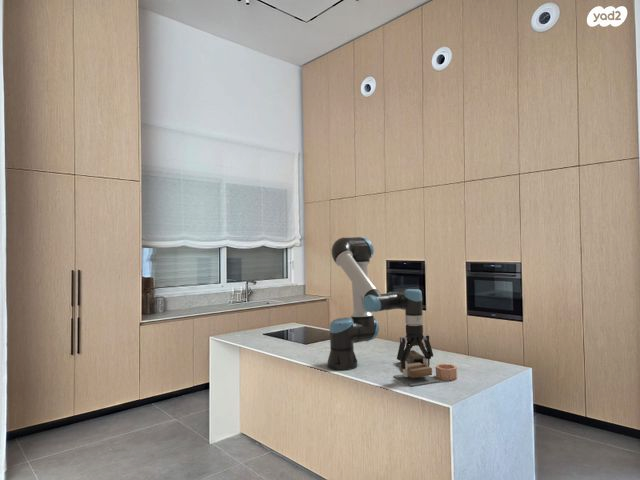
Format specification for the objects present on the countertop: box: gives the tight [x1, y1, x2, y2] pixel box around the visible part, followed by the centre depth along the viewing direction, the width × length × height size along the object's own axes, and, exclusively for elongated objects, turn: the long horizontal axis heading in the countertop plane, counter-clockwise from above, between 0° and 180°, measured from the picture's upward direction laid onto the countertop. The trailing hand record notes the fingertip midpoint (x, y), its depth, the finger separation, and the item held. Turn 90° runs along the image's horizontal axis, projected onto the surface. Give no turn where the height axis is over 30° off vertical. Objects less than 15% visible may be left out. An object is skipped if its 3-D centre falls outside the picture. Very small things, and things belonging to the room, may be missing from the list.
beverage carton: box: [399, 349, 430, 367], centre depth 209 cm, size 8×19×7 cm, turn 10°
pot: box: [435, 363, 458, 381], centre depth 190 cm, size 9×9×5 cm
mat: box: [393, 373, 440, 388], centre depth 188 cm, size 15×14×1 cm
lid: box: [399, 363, 433, 378], centre depth 189 cm, size 10×10×3 cm
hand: (415, 374), depth 189 cm, fingers closed on lid, 10 cm apart
